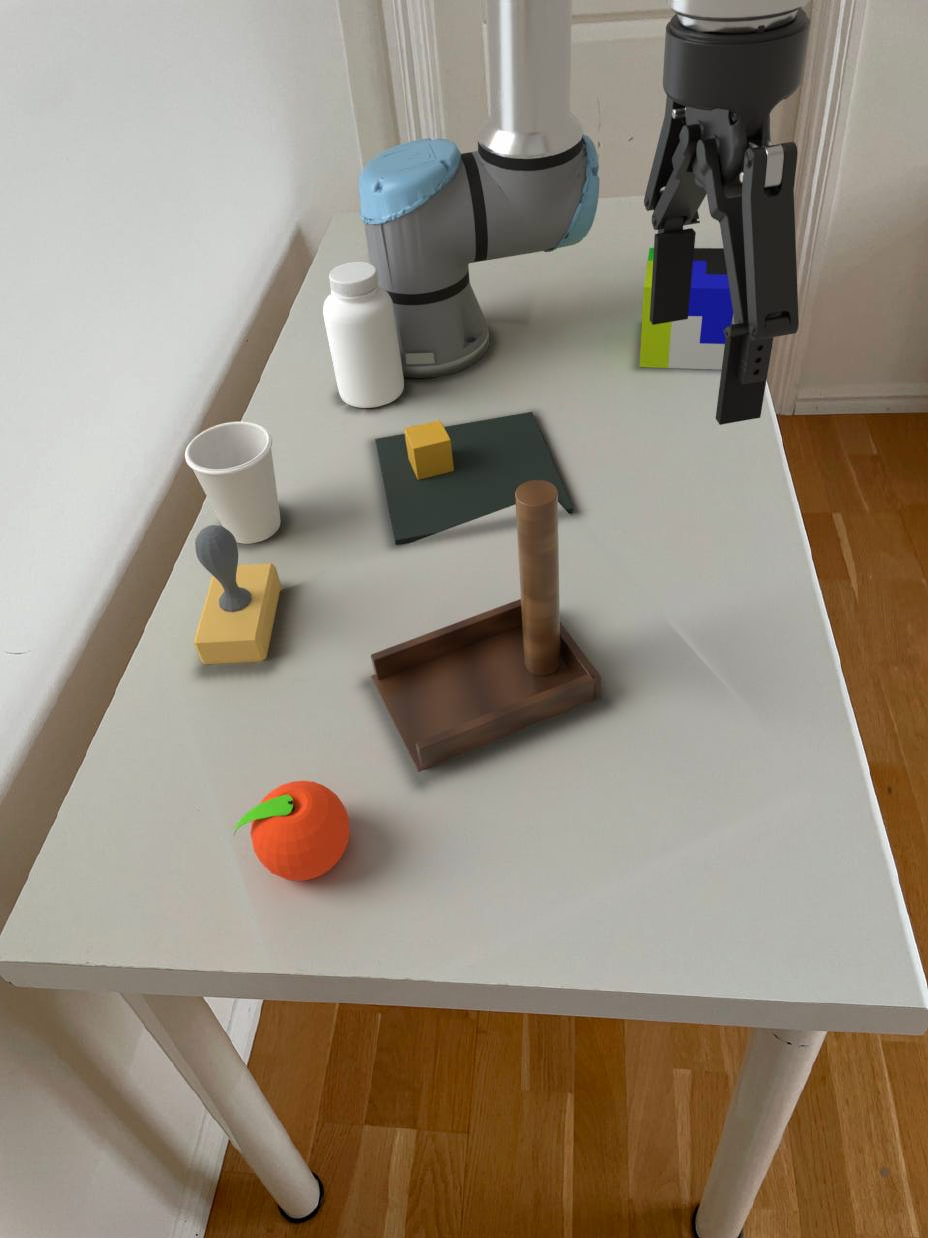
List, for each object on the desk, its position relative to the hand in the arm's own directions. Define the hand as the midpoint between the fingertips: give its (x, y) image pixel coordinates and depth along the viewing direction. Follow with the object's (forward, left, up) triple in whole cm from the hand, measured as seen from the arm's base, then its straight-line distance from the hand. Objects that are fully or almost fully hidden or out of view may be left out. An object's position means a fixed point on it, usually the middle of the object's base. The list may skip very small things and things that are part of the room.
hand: (700, 365), depth 65 cm
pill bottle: (-45, -22, -25) cm, 56 cm away
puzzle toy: (-43, +16, -25) cm, 52 cm away
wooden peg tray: (+5, -18, -25) cm, 31 cm away
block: (-28, -16, -22) cm, 39 cm away
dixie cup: (-23, -37, -25) cm, 50 cm away
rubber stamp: (-8, -38, -25) cm, 46 cm away
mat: (-25, -14, -25) cm, 38 cm away
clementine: (+17, -34, -25) cm, 45 cm away
